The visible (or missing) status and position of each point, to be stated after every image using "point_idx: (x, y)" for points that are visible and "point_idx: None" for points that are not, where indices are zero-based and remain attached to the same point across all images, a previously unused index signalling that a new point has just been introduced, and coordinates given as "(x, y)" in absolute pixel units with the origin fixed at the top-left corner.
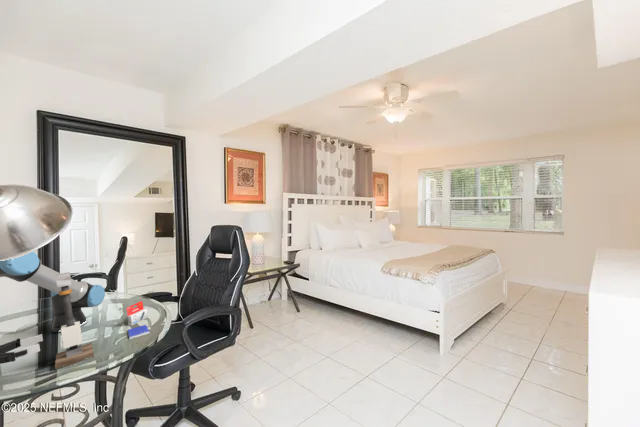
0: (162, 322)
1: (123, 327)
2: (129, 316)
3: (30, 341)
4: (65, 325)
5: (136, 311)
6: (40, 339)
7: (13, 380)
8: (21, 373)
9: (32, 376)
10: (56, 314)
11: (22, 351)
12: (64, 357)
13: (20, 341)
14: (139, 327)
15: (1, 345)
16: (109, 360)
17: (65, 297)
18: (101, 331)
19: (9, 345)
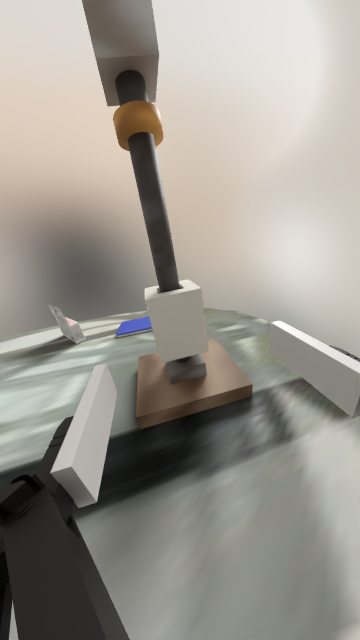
0: (131, 314)
1: (75, 348)
2: (75, 324)
3: (102, 422)
4: (154, 295)
5: (61, 321)
6: (113, 388)
7: (301, 573)
8: (209, 560)
9: (278, 459)
10: None
11: (348, 354)
12: (202, 380)
13: (76, 469)
14: (126, 324)
15: None
16: (252, 325)
17: (157, 156)
18: (32, 379)
19: (89, 592)
